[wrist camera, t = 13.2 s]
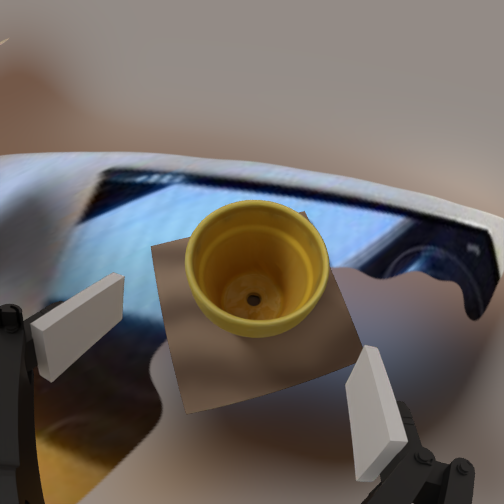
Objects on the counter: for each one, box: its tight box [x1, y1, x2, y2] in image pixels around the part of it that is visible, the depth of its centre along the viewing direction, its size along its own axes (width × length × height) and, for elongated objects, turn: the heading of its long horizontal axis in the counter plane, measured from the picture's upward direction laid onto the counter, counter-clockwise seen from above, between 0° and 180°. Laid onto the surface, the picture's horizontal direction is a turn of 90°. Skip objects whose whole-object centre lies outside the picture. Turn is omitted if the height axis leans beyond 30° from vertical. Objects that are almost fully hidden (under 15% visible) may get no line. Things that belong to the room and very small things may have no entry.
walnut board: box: [151, 211, 363, 414], centre depth 31 cm, size 18×18×1 cm
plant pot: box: [185, 200, 329, 338], centre depth 26 cm, size 10×10×10 cm
